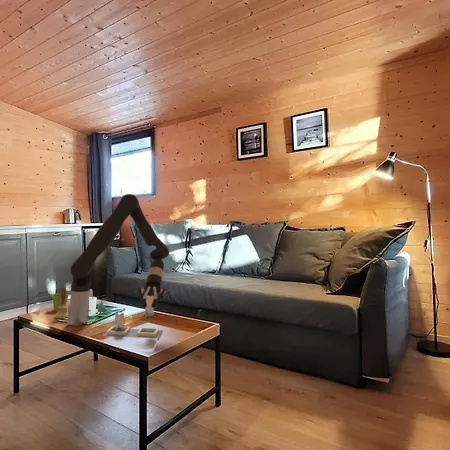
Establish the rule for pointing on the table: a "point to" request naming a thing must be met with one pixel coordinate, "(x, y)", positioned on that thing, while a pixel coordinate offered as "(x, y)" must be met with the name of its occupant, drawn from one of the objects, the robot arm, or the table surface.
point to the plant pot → (58, 300)
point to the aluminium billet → (149, 305)
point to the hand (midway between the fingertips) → (148, 307)
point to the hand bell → (62, 306)
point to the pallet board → (134, 332)
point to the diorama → (102, 307)
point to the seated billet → (119, 321)
